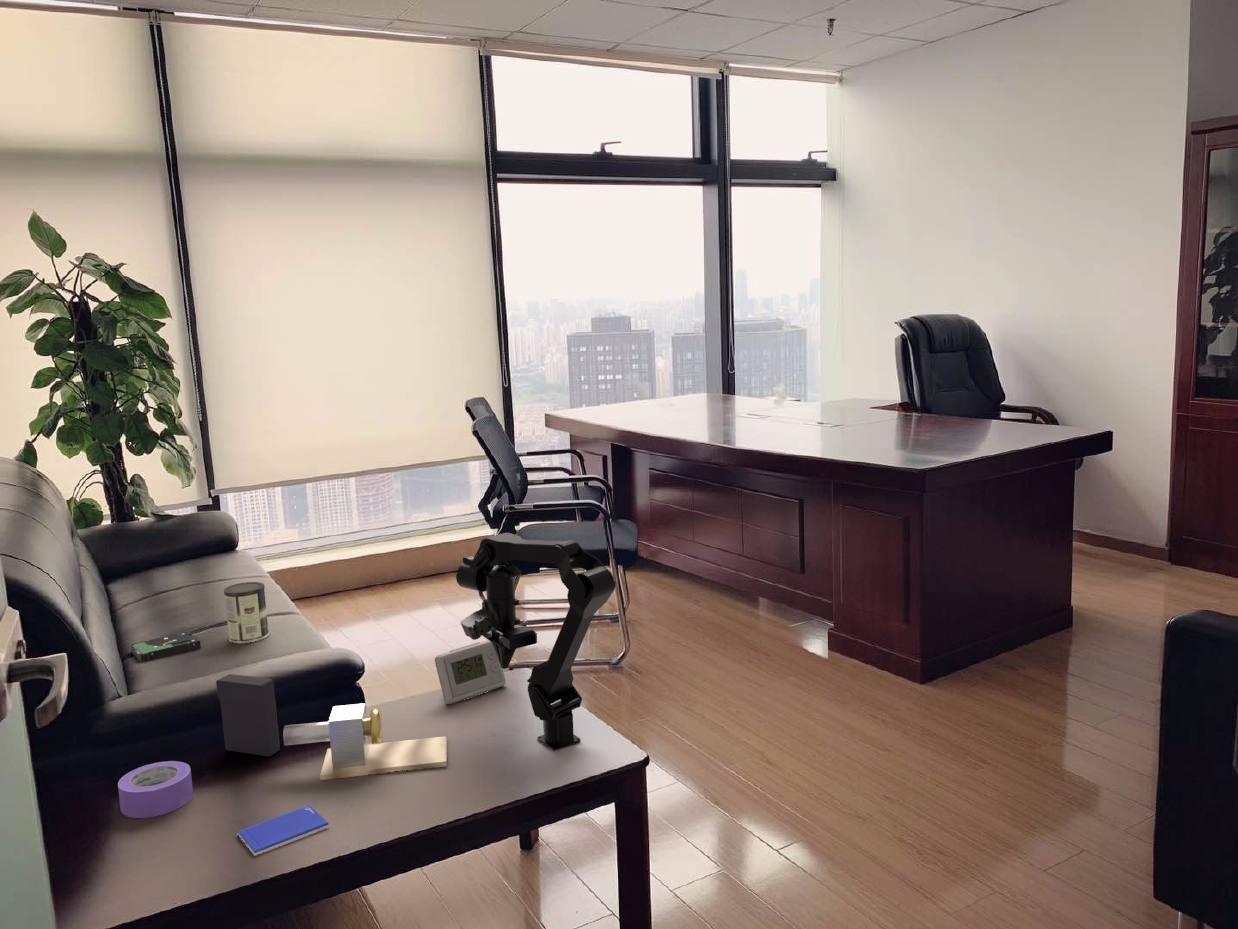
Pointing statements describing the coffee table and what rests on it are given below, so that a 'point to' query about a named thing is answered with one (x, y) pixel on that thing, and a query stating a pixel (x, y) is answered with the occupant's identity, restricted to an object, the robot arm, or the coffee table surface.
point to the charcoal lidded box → (248, 714)
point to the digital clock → (469, 671)
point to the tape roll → (155, 789)
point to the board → (393, 758)
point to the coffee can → (246, 612)
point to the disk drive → (165, 646)
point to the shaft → (321, 732)
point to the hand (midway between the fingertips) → (504, 668)
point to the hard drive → (282, 829)
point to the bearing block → (348, 736)
